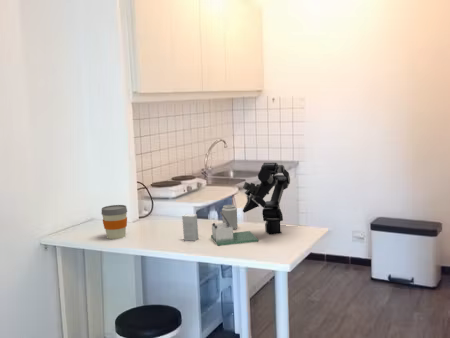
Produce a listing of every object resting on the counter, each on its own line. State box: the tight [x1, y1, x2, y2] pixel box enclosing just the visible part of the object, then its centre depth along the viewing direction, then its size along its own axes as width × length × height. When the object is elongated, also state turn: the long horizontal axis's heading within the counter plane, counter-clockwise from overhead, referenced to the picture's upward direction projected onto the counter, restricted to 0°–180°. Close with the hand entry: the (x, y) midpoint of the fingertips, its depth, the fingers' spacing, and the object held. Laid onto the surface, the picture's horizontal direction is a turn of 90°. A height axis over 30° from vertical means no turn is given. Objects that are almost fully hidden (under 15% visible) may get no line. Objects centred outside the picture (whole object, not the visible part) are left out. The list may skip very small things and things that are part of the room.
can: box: [221, 204, 239, 231], centre depth 264 cm, size 8×8×12 cm
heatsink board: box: [211, 222, 259, 246], centre depth 244 cm, size 19×16×8 cm
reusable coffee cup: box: [101, 204, 128, 240], centre depth 259 cm, size 13×13×15 cm
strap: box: [219, 211, 230, 225], centre depth 242 cm, size 7×4×1 cm
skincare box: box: [181, 213, 199, 242], centre depth 247 cm, size 6×4×12 cm
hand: (243, 212), depth 244 cm, fingers closed
